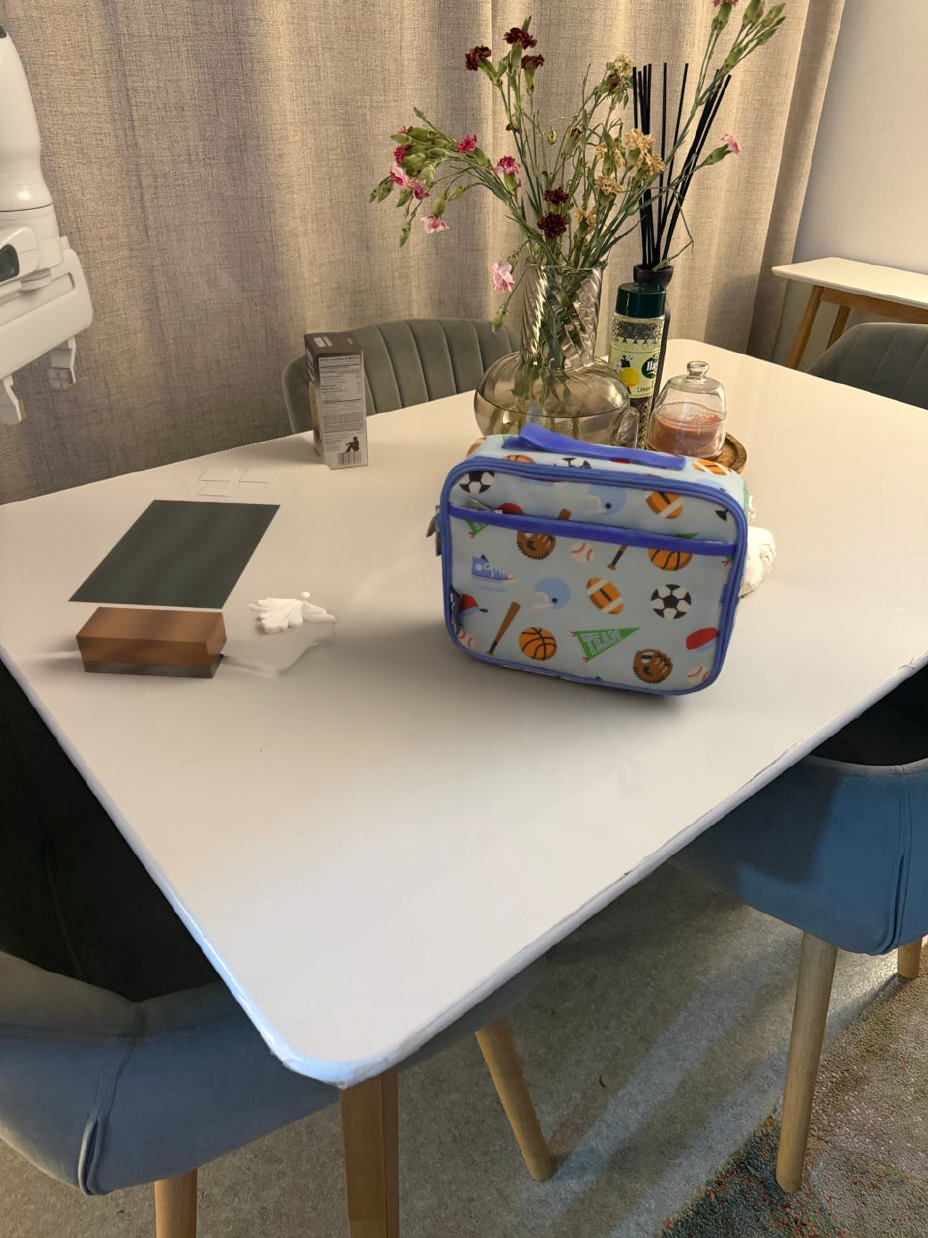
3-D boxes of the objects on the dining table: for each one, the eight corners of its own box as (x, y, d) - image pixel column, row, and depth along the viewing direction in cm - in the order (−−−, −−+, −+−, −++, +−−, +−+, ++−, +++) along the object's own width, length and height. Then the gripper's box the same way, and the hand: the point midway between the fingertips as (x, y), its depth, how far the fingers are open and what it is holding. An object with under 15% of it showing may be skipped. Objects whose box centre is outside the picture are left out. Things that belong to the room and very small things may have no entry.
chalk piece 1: (199, 486, 116) (198, 479, 115) (209, 474, 119) (208, 467, 119) (230, 487, 116) (228, 480, 115) (238, 475, 119) (237, 468, 119)
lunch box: (417, 664, 83) (412, 442, 71) (450, 608, 92) (450, 401, 80) (717, 720, 77) (767, 486, 65) (723, 653, 85) (768, 436, 73)
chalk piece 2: (199, 501, 112) (198, 494, 112) (209, 488, 116) (208, 481, 115) (231, 502, 112) (229, 495, 111) (240, 489, 115) (239, 482, 115)
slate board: (56, 613, 90) (53, 605, 90) (150, 502, 112) (149, 495, 111) (229, 621, 89) (228, 614, 89) (291, 508, 111) (290, 501, 110)
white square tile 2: (239, 487, 116) (238, 480, 115) (249, 475, 119) (248, 468, 119) (269, 489, 115) (268, 482, 115) (278, 476, 119) (277, 469, 118)
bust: (755, 585, 100) (722, 491, 100) (809, 571, 94) (773, 470, 94) (681, 617, 95) (645, 517, 94) (732, 605, 88) (693, 498, 88)
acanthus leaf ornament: (337, 628, 88) (335, 612, 87) (271, 648, 85) (269, 632, 84) (307, 593, 94) (305, 578, 93) (245, 611, 91) (242, 596, 90)
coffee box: (312, 446, 128) (302, 332, 119) (356, 441, 129) (349, 329, 120) (323, 471, 120) (313, 352, 112) (370, 465, 122) (363, 348, 113)
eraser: (85, 671, 82) (75, 635, 80) (107, 641, 86) (98, 606, 84) (212, 678, 81) (205, 642, 79) (228, 647, 85) (222, 612, 83)
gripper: (28, 219, 82) (60, 366, 90) (-110, 264, 65) (-56, 442, 73) (94, 222, 82) (120, 370, 90) (-27, 269, 65) (18, 447, 73)
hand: (40, 403), depth 81 cm, fingers open, 8 cm apart
